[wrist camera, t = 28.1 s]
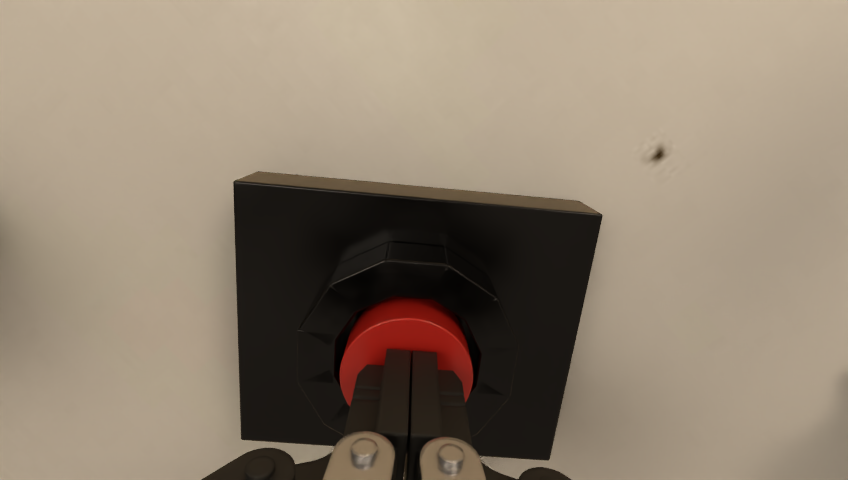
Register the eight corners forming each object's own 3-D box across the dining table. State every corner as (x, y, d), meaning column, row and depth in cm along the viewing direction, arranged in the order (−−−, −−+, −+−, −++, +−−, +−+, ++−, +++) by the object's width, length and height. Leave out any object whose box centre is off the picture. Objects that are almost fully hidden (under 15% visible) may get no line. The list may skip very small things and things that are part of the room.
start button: (345, 394, 15) (336, 430, 14) (350, 288, 14) (341, 313, 12) (459, 403, 15) (464, 439, 14) (474, 298, 14) (481, 324, 13)
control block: (260, 403, 19) (219, 478, 15) (256, 171, 16) (206, 190, 12) (535, 423, 19) (564, 501, 15) (580, 200, 16) (629, 228, 13)
